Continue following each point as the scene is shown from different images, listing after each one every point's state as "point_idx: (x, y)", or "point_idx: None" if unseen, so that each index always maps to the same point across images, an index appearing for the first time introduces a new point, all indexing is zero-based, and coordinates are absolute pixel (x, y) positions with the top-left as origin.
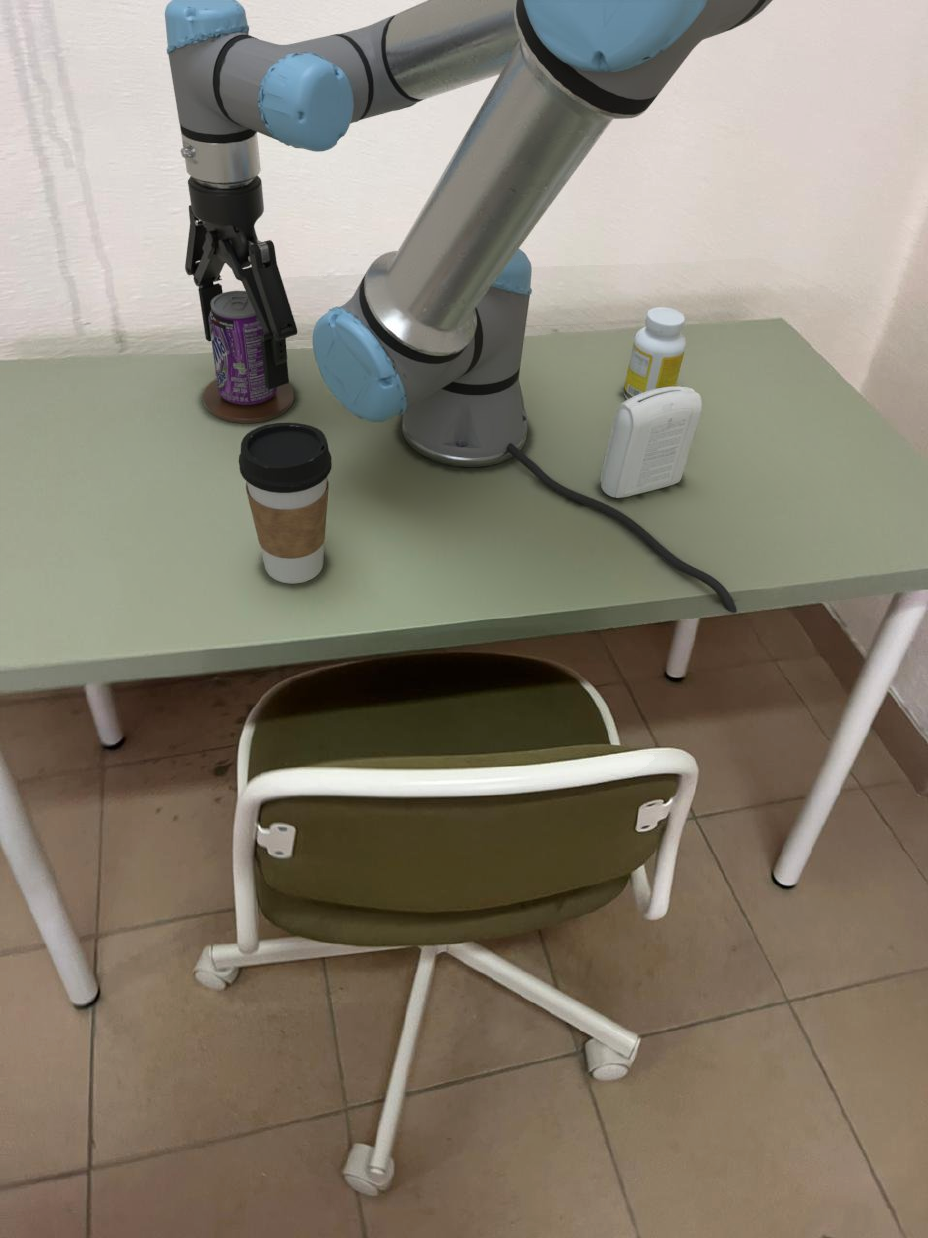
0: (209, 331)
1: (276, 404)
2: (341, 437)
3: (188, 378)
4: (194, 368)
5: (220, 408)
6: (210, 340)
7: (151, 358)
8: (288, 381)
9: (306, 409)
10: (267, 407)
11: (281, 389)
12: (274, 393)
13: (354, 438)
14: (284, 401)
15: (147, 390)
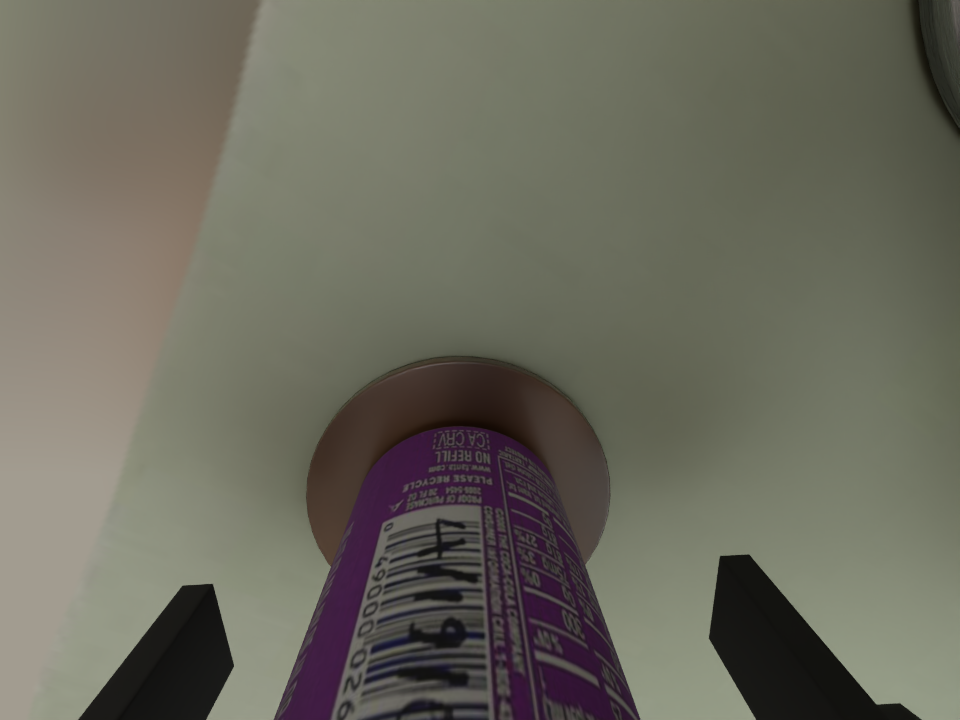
0: (207, 708)
1: (567, 461)
2: (830, 363)
3: (255, 591)
4: (201, 556)
5: None
6: (230, 661)
7: (87, 632)
8: (754, 561)
9: (625, 374)
10: (566, 492)
11: (492, 402)
12: (543, 464)
13: (866, 329)
14: (567, 431)
15: (271, 695)
